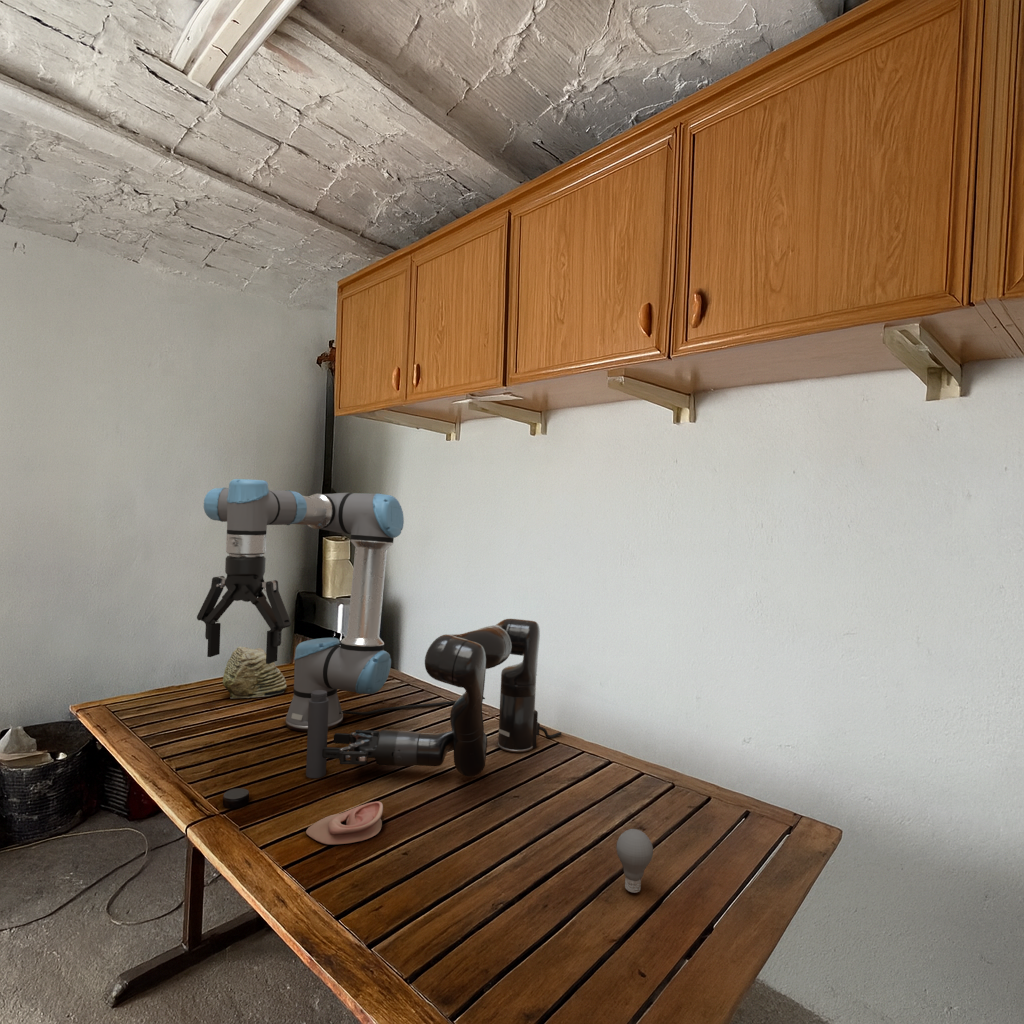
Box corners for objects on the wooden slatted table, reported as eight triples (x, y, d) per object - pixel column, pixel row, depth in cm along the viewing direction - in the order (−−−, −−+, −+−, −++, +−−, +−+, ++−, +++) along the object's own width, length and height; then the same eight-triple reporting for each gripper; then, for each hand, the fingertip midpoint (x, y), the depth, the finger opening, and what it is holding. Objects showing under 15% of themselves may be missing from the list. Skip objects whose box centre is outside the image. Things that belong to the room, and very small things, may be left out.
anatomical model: (298, 818, 116) (328, 791, 128) (297, 839, 116) (327, 810, 128) (365, 829, 114) (390, 800, 125) (364, 851, 114) (389, 820, 125)
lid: (240, 795, 133) (240, 785, 133) (253, 802, 130) (254, 792, 130) (217, 803, 129) (218, 793, 129) (231, 811, 126) (231, 801, 126)
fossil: (218, 695, 195) (220, 647, 195) (278, 685, 208) (279, 640, 207) (228, 703, 189) (230, 653, 188) (289, 692, 201) (290, 645, 201)
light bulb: (610, 879, 108) (613, 822, 108) (644, 879, 109) (647, 822, 109) (619, 902, 102) (622, 840, 102) (655, 901, 103) (658, 840, 103)
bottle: (324, 778, 143) (327, 695, 142) (304, 778, 142) (307, 695, 142) (327, 769, 147) (330, 689, 147) (307, 770, 146) (310, 689, 146)
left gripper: (180, 552, 128) (176, 656, 128) (289, 560, 122) (285, 669, 123) (206, 550, 135) (202, 648, 136) (310, 557, 130) (306, 660, 130)
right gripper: (405, 721, 152) (337, 718, 152) (393, 743, 137) (319, 740, 137) (404, 752, 152) (336, 749, 152) (392, 778, 138) (318, 774, 138)
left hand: (242, 659), depth 129 cm, fingers open, 13 cm apart
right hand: (328, 745), depth 145 cm, fingers open, 8 cm apart
